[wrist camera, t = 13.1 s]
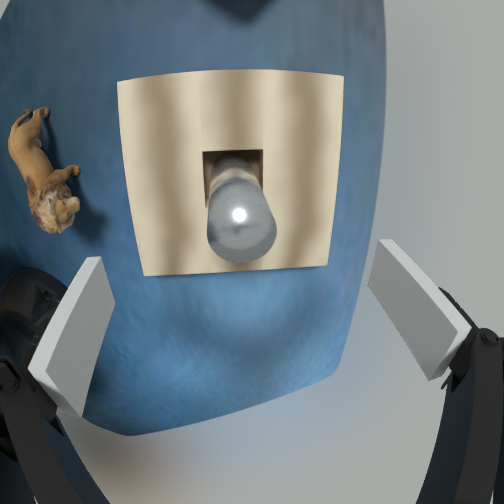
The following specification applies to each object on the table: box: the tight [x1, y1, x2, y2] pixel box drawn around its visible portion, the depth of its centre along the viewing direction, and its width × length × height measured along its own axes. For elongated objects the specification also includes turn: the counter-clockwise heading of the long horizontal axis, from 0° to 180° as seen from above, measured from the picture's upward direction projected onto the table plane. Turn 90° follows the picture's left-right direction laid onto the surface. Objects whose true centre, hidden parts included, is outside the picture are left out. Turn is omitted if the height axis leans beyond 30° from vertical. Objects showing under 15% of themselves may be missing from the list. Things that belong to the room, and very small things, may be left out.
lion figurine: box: [8, 107, 80, 234], centre depth 22 cm, size 15×5×9 cm, turn 31°
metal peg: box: [207, 152, 277, 263], centre depth 23 cm, size 4×4×14 cm
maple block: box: [117, 70, 344, 276], centre depth 28 cm, size 20×20×4 cm
